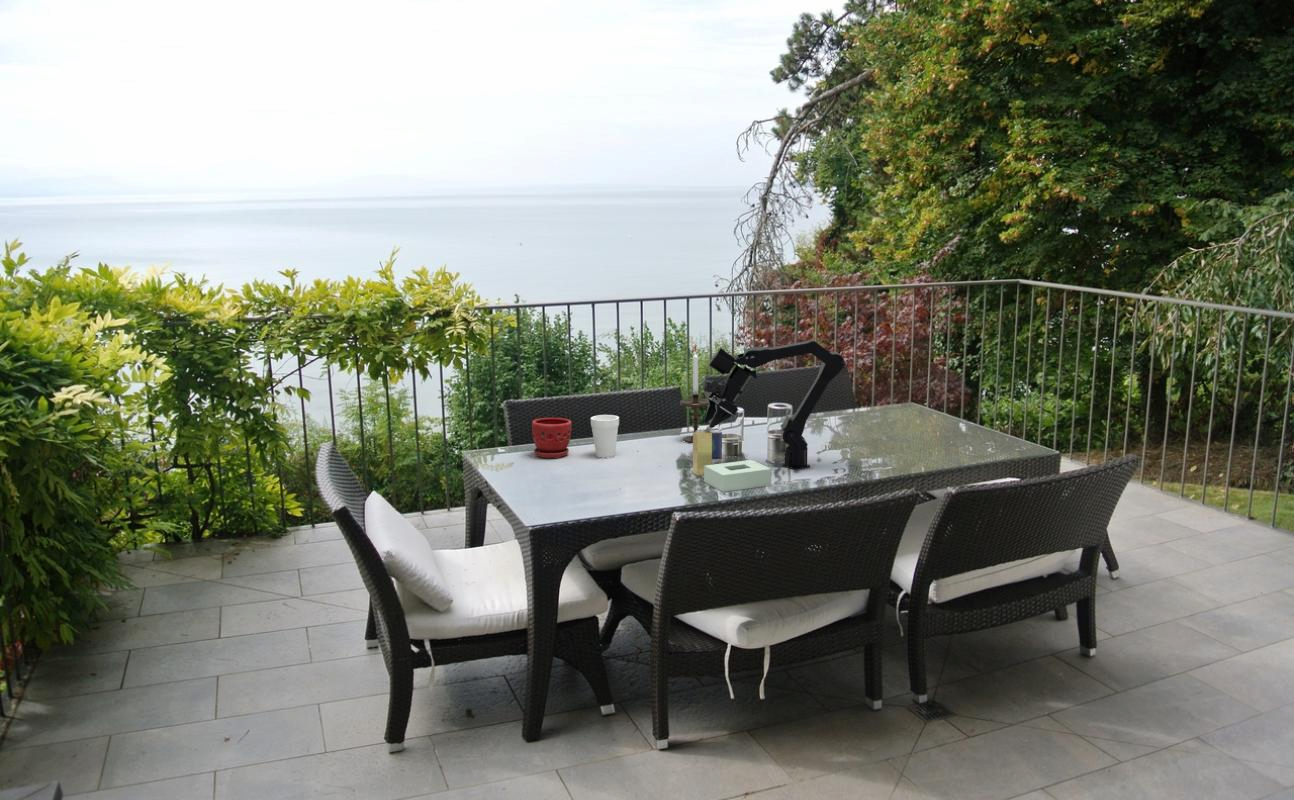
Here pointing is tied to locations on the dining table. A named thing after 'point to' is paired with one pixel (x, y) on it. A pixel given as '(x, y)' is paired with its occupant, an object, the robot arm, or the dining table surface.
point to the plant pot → (551, 437)
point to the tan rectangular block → (701, 451)
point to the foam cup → (605, 434)
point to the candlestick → (694, 398)
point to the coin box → (737, 475)
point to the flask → (715, 443)
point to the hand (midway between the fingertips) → (707, 424)
